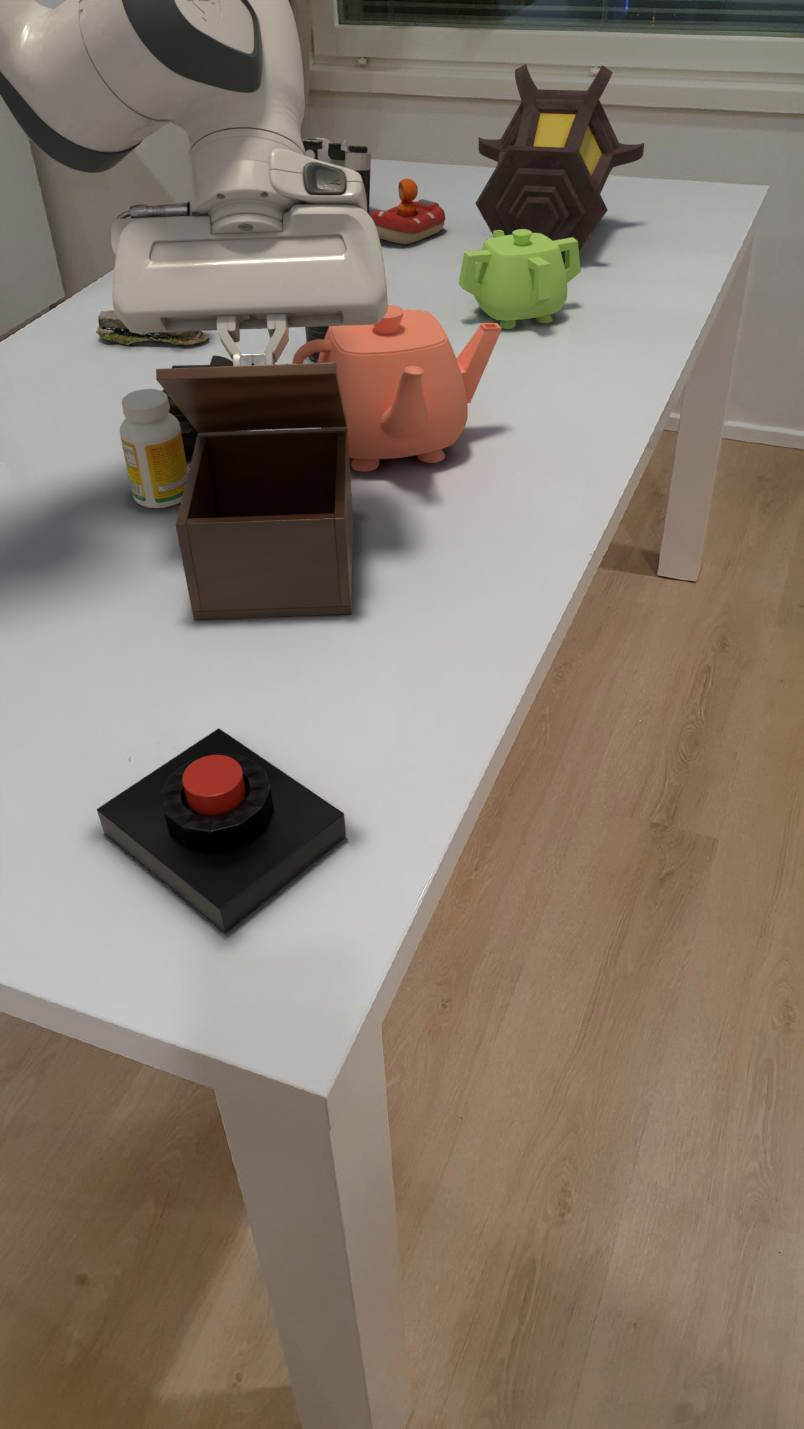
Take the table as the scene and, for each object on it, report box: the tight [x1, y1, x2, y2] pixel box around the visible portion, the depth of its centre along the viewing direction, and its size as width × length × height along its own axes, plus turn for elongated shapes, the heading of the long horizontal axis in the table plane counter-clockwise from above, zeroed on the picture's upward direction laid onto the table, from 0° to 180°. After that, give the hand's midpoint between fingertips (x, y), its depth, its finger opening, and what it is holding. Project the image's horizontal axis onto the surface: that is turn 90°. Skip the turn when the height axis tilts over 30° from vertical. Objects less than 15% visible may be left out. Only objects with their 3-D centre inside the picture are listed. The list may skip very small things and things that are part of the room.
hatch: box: [155, 362, 347, 432], centre depth 83 cm, size 15×13×1 cm
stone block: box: [95, 309, 210, 346], centre depth 127 cm, size 14×4×3 cm, turn 81°
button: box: [182, 755, 246, 816], centre depth 65 cm, size 4×4×2 cm
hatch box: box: [175, 428, 354, 621], centre depth 88 cm, size 15×13×9 cm
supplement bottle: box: [119, 388, 189, 509], centre depth 97 cm, size 5×5×10 cm
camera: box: [302, 137, 372, 215], centre depth 161 cm, size 15×11×10 cm
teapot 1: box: [291, 304, 503, 472], centre depth 102 cm, size 16×17×14 cm
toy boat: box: [369, 177, 446, 245], centre depth 151 cm, size 8×12×8 cm, turn 139°
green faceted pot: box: [458, 229, 582, 330], centre depth 127 cm, size 12×12×10 cm
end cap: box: [161, 354, 237, 463], centre depth 106 cm, size 10×7×7 cm
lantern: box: [474, 63, 645, 264], centre depth 145 cm, size 22×23×30 cm
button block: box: [96, 728, 347, 934], centre depth 67 cm, size 12×10×4 cm
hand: (254, 382), depth 80 cm, fingers closed
